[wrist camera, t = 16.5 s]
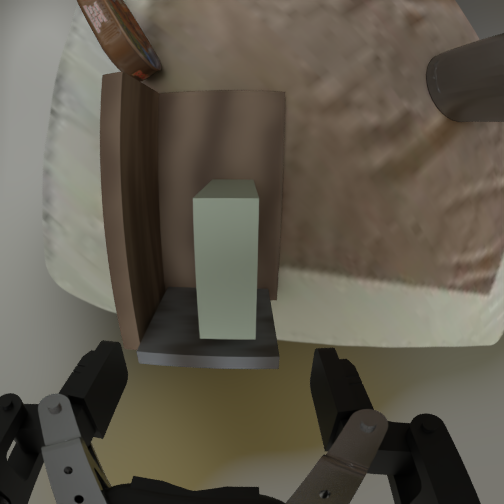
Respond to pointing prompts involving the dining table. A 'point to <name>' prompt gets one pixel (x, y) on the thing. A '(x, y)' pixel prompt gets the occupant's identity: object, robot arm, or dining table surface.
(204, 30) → the dining table surface
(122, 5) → the tin
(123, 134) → the bookshelf
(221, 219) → the sage green tall block
